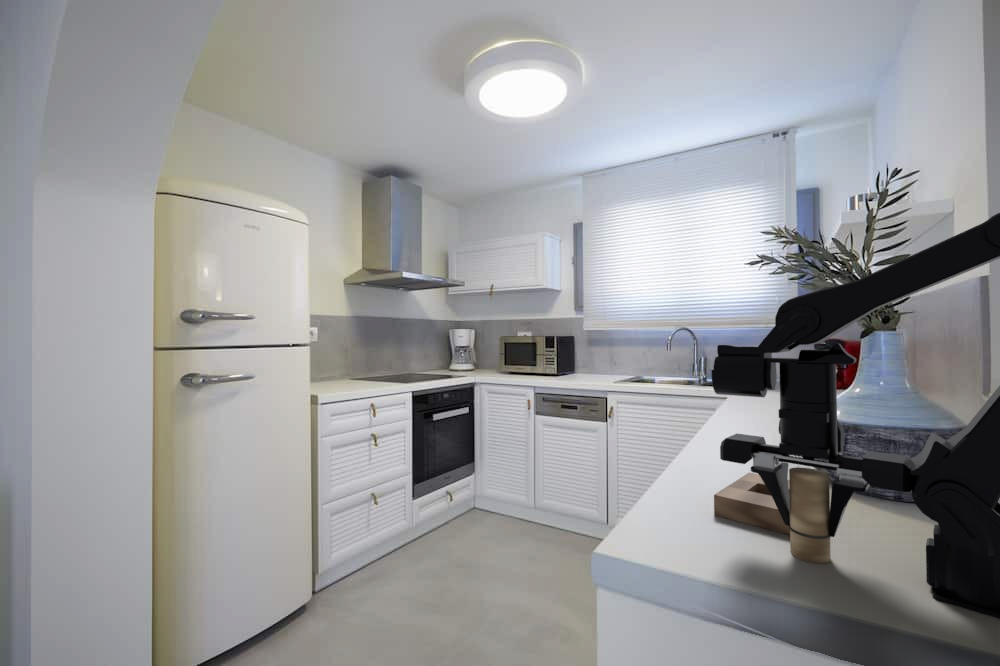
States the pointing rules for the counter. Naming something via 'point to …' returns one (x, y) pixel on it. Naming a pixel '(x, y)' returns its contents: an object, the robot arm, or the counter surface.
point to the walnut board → (750, 504)
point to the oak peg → (809, 515)
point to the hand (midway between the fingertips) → (809, 530)
